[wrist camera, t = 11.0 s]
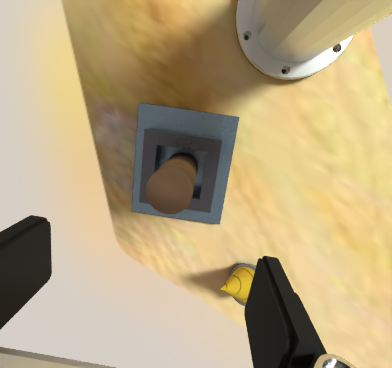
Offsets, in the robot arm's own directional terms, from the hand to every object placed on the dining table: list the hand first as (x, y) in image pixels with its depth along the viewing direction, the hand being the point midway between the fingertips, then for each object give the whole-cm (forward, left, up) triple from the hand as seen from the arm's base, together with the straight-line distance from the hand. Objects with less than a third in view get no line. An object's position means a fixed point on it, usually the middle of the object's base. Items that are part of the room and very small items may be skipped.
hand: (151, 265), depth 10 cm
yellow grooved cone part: (+14, +9, -21) cm, 27 cm away
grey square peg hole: (0, -1, -21) cm, 21 cm away
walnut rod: (0, -1, -20) cm, 20 cm away
